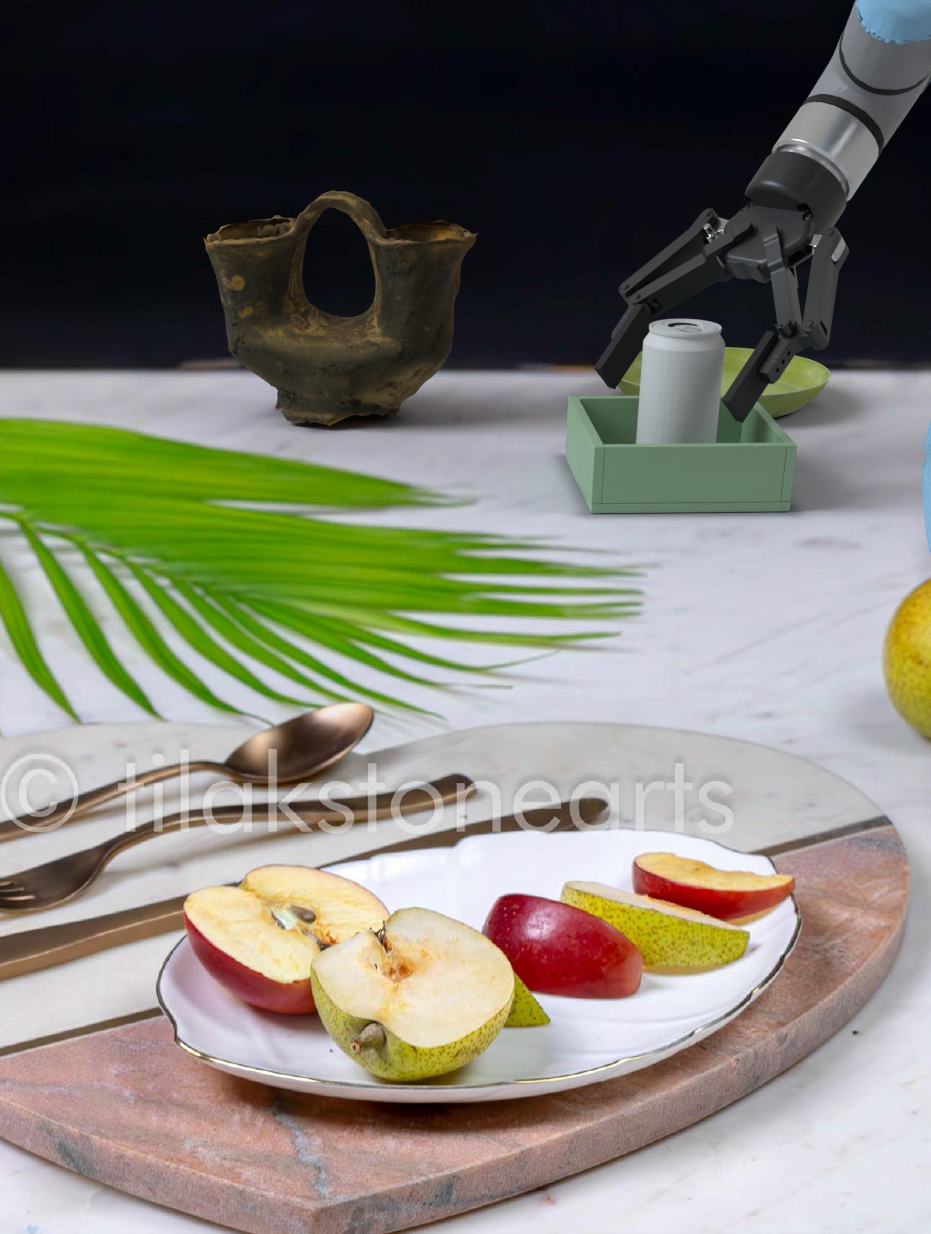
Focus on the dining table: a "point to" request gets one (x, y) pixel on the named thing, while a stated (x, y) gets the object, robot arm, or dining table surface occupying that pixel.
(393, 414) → the pottery vessel
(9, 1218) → the dining table surface
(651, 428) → the beverage can
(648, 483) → the bin
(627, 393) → the saucer
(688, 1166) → the dining table surface
